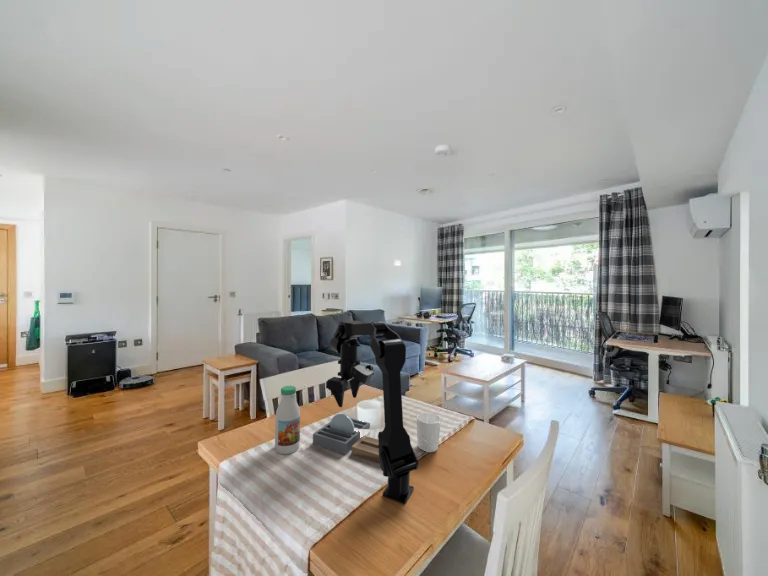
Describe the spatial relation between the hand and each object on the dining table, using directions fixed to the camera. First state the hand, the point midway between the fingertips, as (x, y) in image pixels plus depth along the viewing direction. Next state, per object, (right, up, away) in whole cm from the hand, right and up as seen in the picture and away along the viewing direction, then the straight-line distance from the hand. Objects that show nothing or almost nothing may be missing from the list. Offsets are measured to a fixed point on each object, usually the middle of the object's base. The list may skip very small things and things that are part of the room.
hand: (347, 402), depth 109 cm
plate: (-2, -13, 0) cm, 13 cm away
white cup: (+27, -14, -3) cm, 31 cm away
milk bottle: (-19, -13, -6) cm, 24 cm away
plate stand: (+9, -14, -8) cm, 18 cm away
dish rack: (-2, -13, +1) cm, 13 cm away
